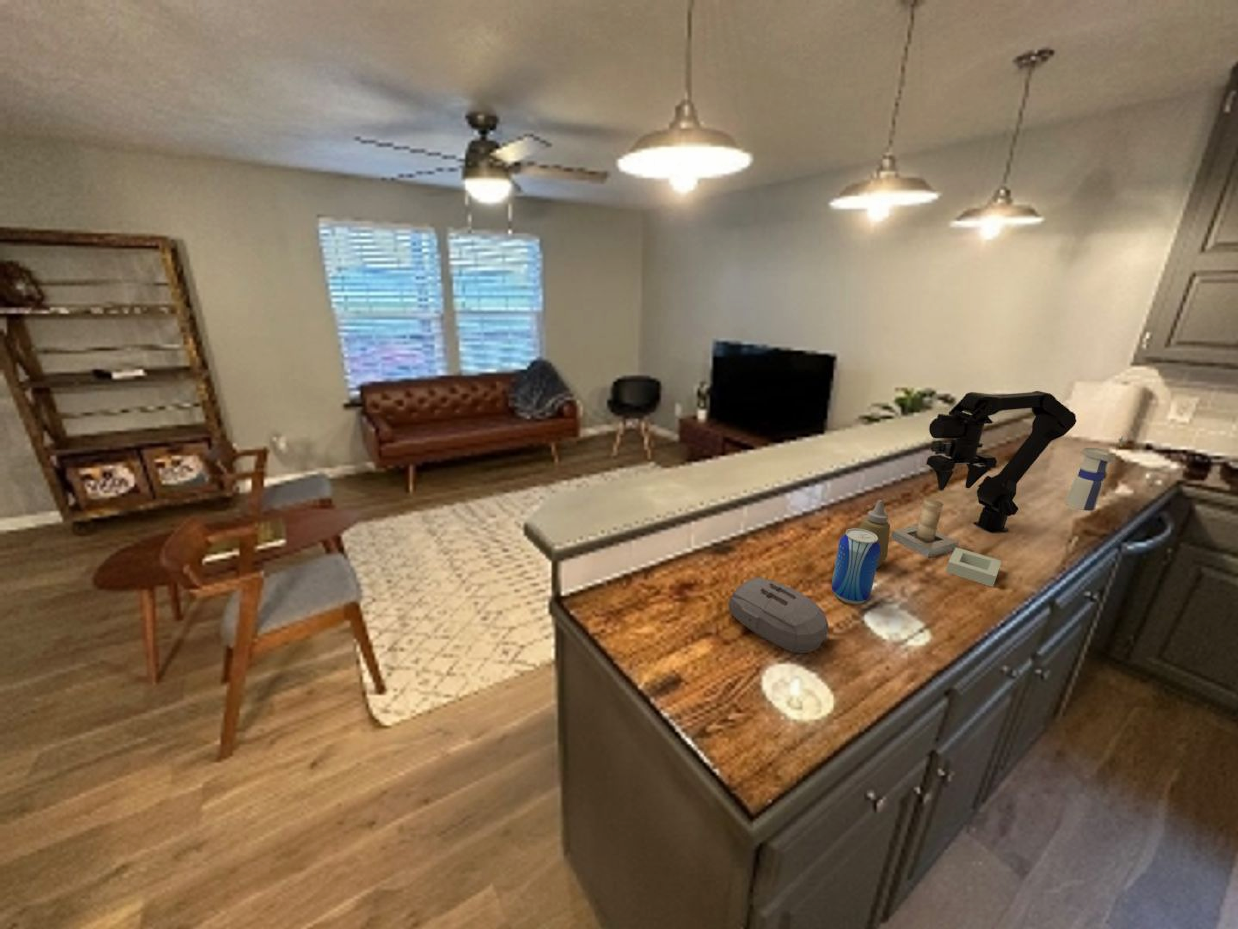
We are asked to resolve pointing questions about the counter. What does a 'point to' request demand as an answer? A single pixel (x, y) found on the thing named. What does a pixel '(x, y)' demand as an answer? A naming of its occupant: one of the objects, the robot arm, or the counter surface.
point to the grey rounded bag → (779, 615)
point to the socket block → (928, 550)
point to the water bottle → (1090, 479)
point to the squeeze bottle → (878, 528)
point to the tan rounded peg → (929, 520)
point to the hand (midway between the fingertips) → (954, 489)
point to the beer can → (855, 566)
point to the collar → (973, 566)
